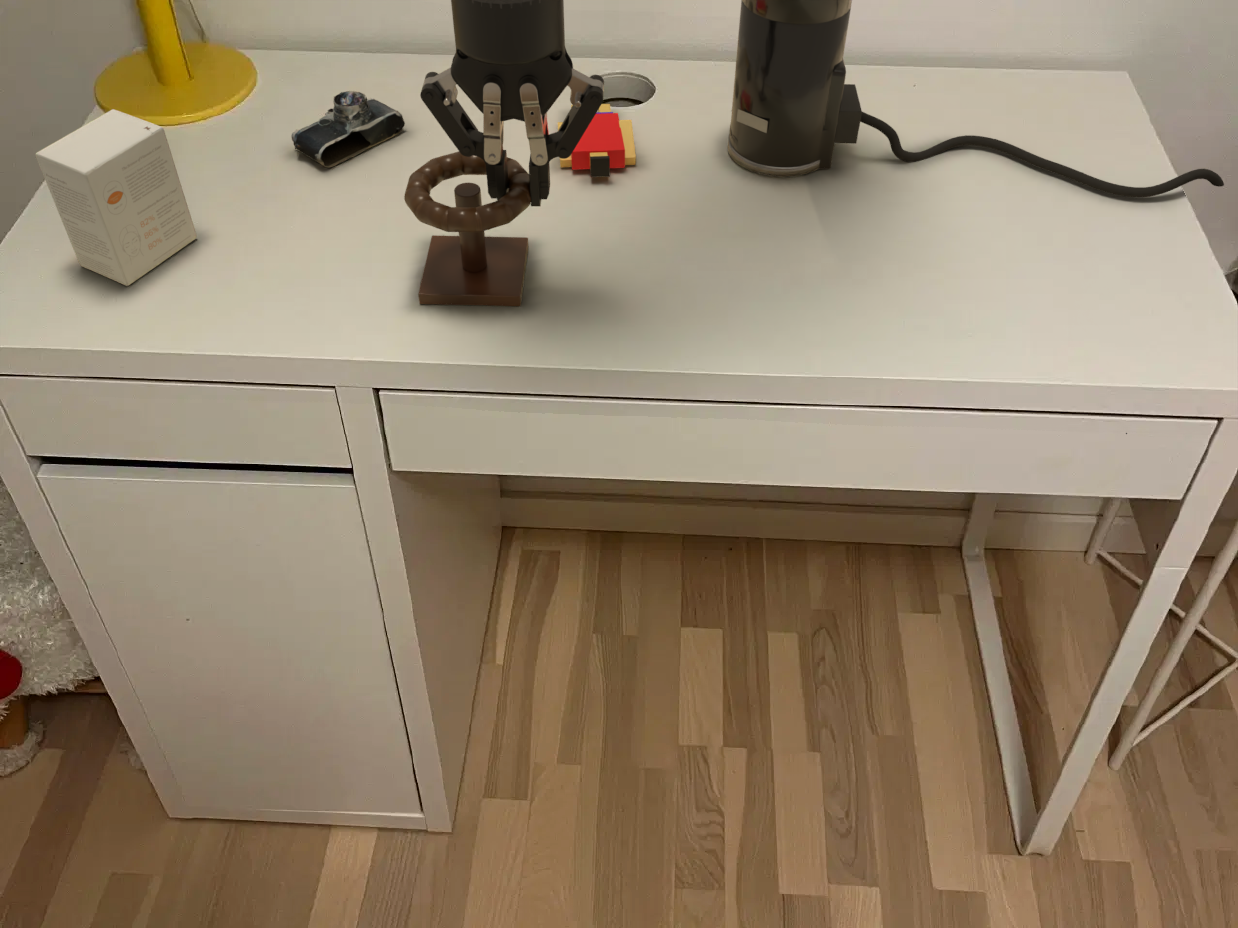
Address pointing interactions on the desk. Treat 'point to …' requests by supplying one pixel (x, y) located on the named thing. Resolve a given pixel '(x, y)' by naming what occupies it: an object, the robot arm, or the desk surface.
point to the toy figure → (603, 145)
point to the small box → (118, 195)
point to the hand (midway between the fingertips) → (520, 199)
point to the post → (474, 264)
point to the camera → (348, 129)
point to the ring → (465, 216)
